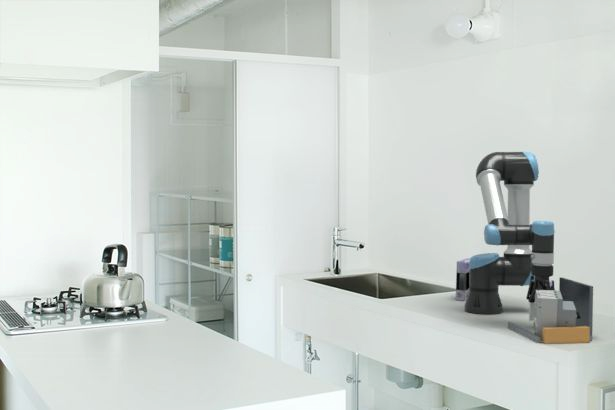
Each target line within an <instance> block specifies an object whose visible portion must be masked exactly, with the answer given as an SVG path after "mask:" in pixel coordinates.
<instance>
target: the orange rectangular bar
mask: <svg viewBox="0 0 615 410" xmlns="http://www.w3.org/2000/svg"><path fill="white" fill-rule="evenodd" d="M589 334H590V327H587V326H580V327H546V328H543V336H542V340H541V343H542V342H543V343H542V344H544V343H555V344H579V343H581V344H582V343H583V344H584V343H590V341H589Z"/></svg>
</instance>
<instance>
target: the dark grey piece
mask: <svg viewBox="0 0 615 410" xmlns="http://www.w3.org/2000/svg"><path fill="white" fill-rule="evenodd" d="M558 280H559V284H558V285H559V287H558V289H559V290H558V291H560V292H561V295H562V298H563V301H573V303H574V306H575V308H576V312H579V315H580V319H576V324H575V327H580V326H587V327H590V334H589V342H592V341H593V326H594V324H593V319H594V317H593V316H594V315H593V314H594V286H593V285H589V284H587V283H583V282H581V281H577V280H573V279H569V278H566V277H559V279H558ZM507 328H508V329H510V330H511V331H513V332H515V333H517V334H519V335H521V336H523V337H525V338H527V339H529V340H531V341H533V342H535V343H537V344H540V343H542V340H541V336H539V335H536V334H534V332H532V331H531V330H528V329H526V328H524V327H522V326H519V325H517V323H513V322H510V321H508V322H507Z"/></svg>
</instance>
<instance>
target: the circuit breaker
mask: <svg viewBox="0 0 615 410" xmlns="http://www.w3.org/2000/svg"><path fill="white" fill-rule="evenodd" d="M535 306H536V309H537V318H534V321H533V333H534V334H536V335H539V336H541V339H542V336H543V328H546V327H575V324H576V319H580V315H579V312H576V308H575V306H574V303H573V301H563V298H562V295H561V292H560V291H559V290H555V291H554V290H536V294H535Z"/></svg>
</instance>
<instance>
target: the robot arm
mask: <svg viewBox="0 0 615 410" xmlns="http://www.w3.org/2000/svg"><path fill="white" fill-rule="evenodd" d="M539 174H540V173H539V164H538V159H537V157H536V155H535V154H534V153H533V152H528V151H495V152H491V153H489V154H487V155H486V156H484V157H483V158H482V159H481V161H480V162H479V163H478V166H477V168H476V171H475V179H476V183H477V185H478V186H479V187H480V191H481V195H482V200H483V204H484V209H485V210H484V211H485V214H486V215H485V216H486V219H487V224H486V225H485V226H484V229H483V236H484V242H485V244H486V245H489V246H507V247H506V249H505V250H504V251H503V256H500V254H499V253H498V252H497V253H496V252H487V253H486V252H485V253H479V254H475V255H471V257H469V258H470V264H469V294H468V297H467V300H466V301H465V303H464V312H467V313H472V314H477V315H496V314H501V313H503V311H504V310H503V308H504V307H503V303H502V300H501V297H500V293H499V286H501V287H502V286H503V287H504V286H512V287H514V286H517V287H519V286H520V287H524V286H525V287H526V286H528V289H527V293H526V300H528V304H529V308H528V315H529V316H528V321H530V322H531V321H532V322H534V318H537V309H536V306H535V294H536V290H554V291H556V288H555V280H550V277H553V276H554V265H553V264H554V261H555V258H554V257H555V256H554V255H555V252H554V251H555V250H554V249H555V247H554V246H555V232H556V231H555V223H554V222H553V221H549V220H535V221H532V223H531V224H530V213H531V212H530V211H531V210H530V209H531V207H530V205H531V204H530V200H531V199H530V198H531V196H530V195H531V193H530V192H531V191H530V190H531V189H532V188H533V187H534V186H535V184H534V182H536V181H538V179H539ZM501 181H503V186H504V187H505V188H506V189H507V207H506V204H505V201H504V200H505V199H504V195H503V191H502V186H501ZM506 208H507V209H506ZM530 246H531V249H530Z"/></svg>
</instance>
